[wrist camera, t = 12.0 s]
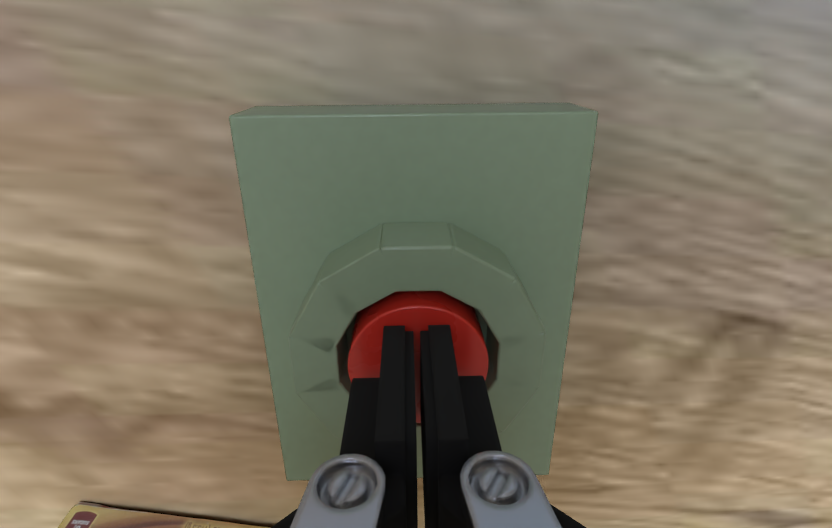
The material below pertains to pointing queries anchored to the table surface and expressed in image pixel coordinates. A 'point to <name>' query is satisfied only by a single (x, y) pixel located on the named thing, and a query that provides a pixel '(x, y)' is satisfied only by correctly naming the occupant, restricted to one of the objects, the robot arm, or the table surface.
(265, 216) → the switch box
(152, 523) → the candy box
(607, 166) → the table surface
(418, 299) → the red push button
